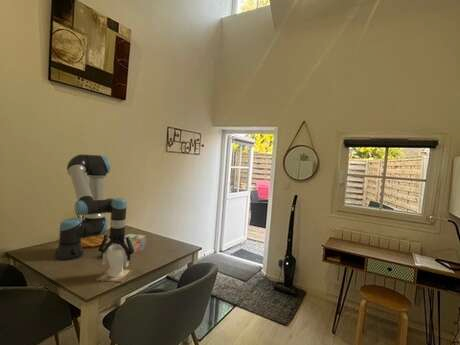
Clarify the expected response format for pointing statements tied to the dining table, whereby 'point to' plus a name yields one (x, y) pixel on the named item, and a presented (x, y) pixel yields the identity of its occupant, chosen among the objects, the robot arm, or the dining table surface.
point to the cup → (116, 260)
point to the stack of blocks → (137, 242)
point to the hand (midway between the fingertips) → (115, 265)
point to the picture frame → (120, 279)
